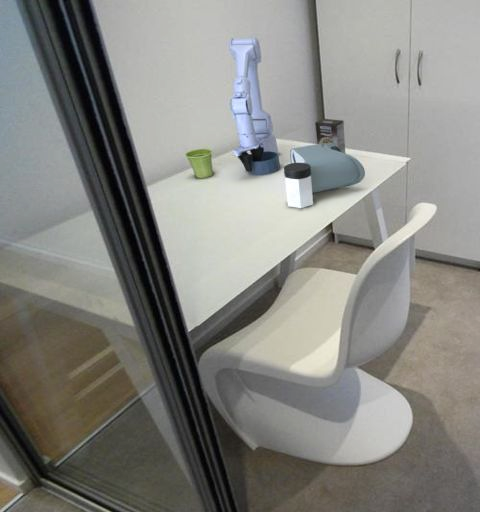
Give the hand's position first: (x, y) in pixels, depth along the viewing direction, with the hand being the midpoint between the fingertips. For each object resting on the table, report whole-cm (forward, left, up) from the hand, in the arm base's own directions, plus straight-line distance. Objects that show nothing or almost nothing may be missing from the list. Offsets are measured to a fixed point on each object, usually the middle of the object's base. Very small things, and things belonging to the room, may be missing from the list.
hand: (253, 169), depth 161 cm
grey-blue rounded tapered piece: (-2, +31, -2) cm, 32 cm away
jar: (+15, +32, -2) cm, 35 cm away
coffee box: (-22, +21, -2) cm, 30 cm away
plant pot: (+8, -17, -2) cm, 19 cm away
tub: (-6, 0, -2) cm, 6 cm away
